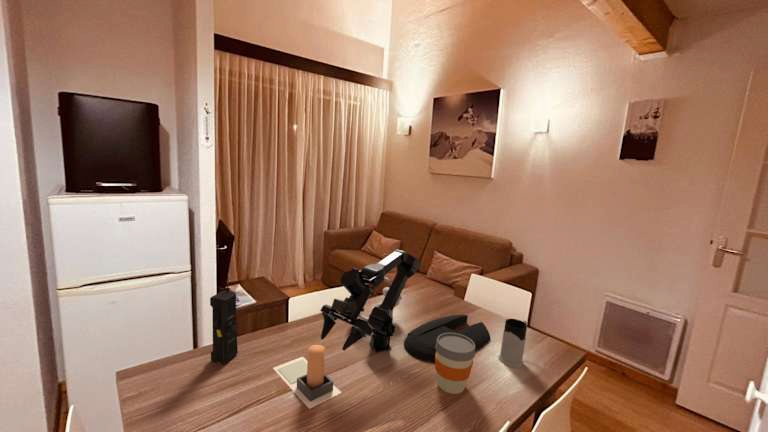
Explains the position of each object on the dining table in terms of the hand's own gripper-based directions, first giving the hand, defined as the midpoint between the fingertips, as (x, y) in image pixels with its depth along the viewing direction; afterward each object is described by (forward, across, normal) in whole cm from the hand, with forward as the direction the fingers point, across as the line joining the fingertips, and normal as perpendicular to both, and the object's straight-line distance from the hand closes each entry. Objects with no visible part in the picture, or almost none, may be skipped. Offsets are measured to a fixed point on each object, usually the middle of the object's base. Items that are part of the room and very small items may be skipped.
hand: (332, 344), depth 106 cm
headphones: (-21, -14, +40) cm, 47 cm away
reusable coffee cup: (-8, +30, +27) cm, 41 cm away
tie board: (+13, -5, +5) cm, 15 cm away
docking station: (-26, +17, +45) cm, 54 cm away
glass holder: (-31, +42, +48) cm, 71 cm away
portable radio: (+20, -35, -1) cm, 40 cm away
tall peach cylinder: (+13, 0, +4) cm, 13 cm away
